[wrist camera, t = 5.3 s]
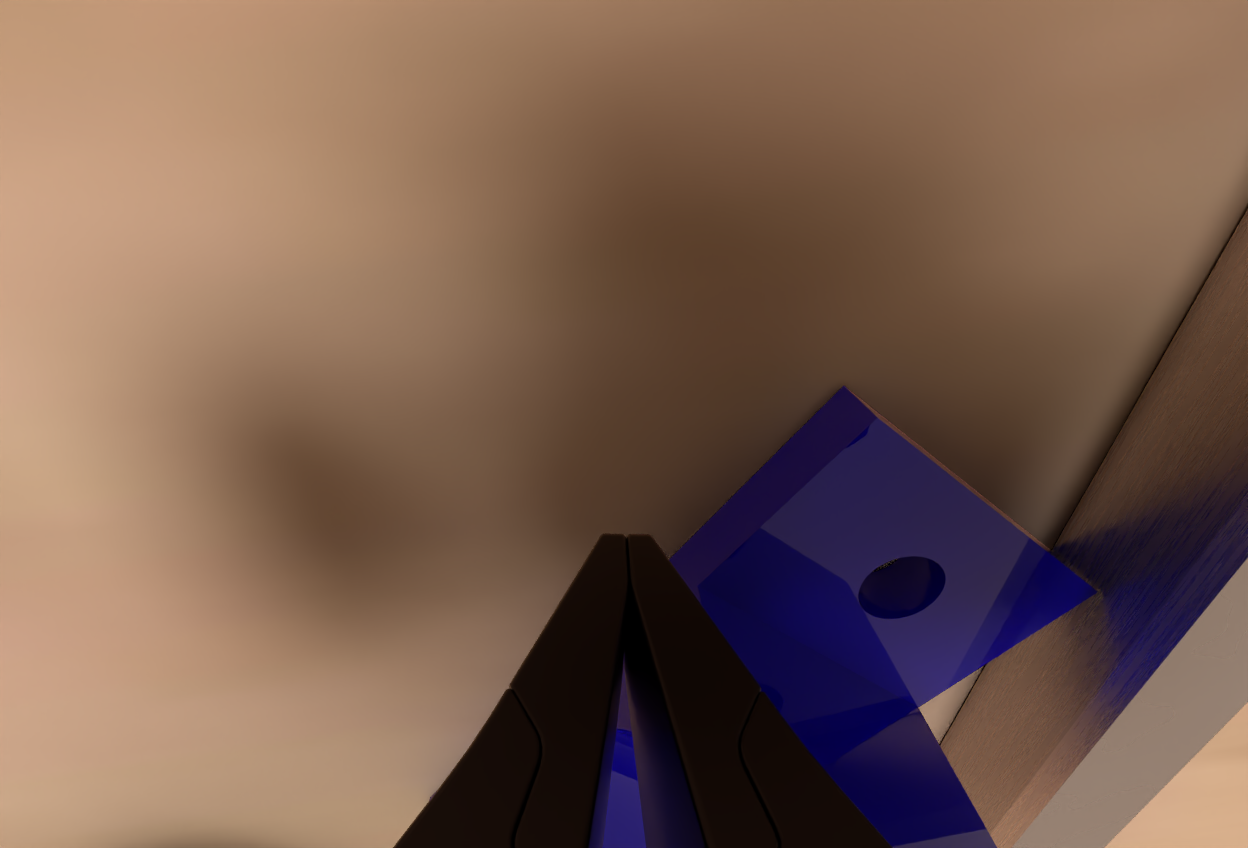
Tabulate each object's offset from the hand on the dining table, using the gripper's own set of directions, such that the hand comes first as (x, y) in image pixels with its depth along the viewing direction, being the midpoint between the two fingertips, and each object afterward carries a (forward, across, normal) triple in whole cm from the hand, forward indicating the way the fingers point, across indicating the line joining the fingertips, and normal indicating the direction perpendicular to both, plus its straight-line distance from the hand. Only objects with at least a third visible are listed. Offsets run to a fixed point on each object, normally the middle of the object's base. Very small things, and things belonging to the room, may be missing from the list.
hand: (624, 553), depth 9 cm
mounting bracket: (+3, -2, +7) cm, 8 cm away
